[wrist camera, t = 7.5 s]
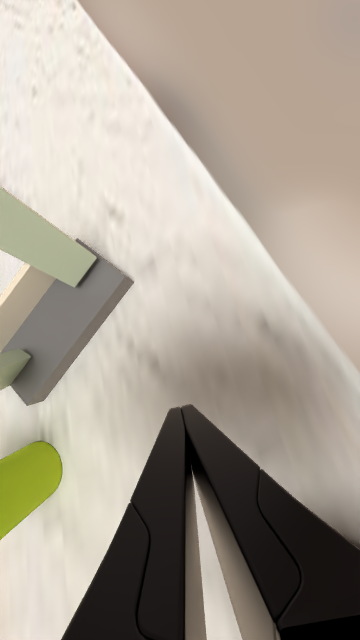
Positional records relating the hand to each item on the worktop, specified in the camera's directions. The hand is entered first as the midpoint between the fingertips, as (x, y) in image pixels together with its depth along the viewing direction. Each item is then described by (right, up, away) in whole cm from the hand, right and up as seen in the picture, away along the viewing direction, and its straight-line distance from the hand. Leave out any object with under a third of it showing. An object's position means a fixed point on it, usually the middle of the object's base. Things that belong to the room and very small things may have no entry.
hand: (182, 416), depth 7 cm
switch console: (-14, +3, +16) cm, 22 cm away
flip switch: (-10, +9, +14) cm, 20 cm away
